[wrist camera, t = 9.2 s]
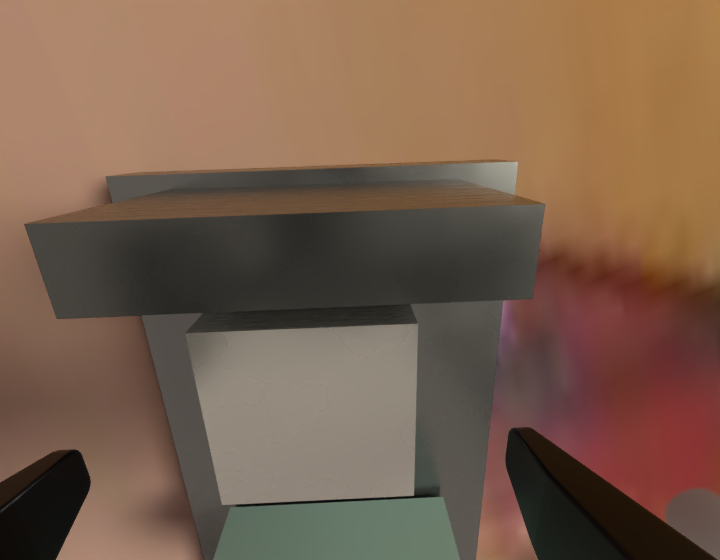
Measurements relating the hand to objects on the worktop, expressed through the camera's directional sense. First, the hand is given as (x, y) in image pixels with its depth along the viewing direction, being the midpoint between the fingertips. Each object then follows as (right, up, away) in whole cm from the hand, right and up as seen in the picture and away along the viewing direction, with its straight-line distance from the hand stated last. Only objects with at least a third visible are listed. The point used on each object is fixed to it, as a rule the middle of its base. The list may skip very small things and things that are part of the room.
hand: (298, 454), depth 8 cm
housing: (0, +2, +7) cm, 7 cm away
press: (0, -6, +12) cm, 13 cm away
